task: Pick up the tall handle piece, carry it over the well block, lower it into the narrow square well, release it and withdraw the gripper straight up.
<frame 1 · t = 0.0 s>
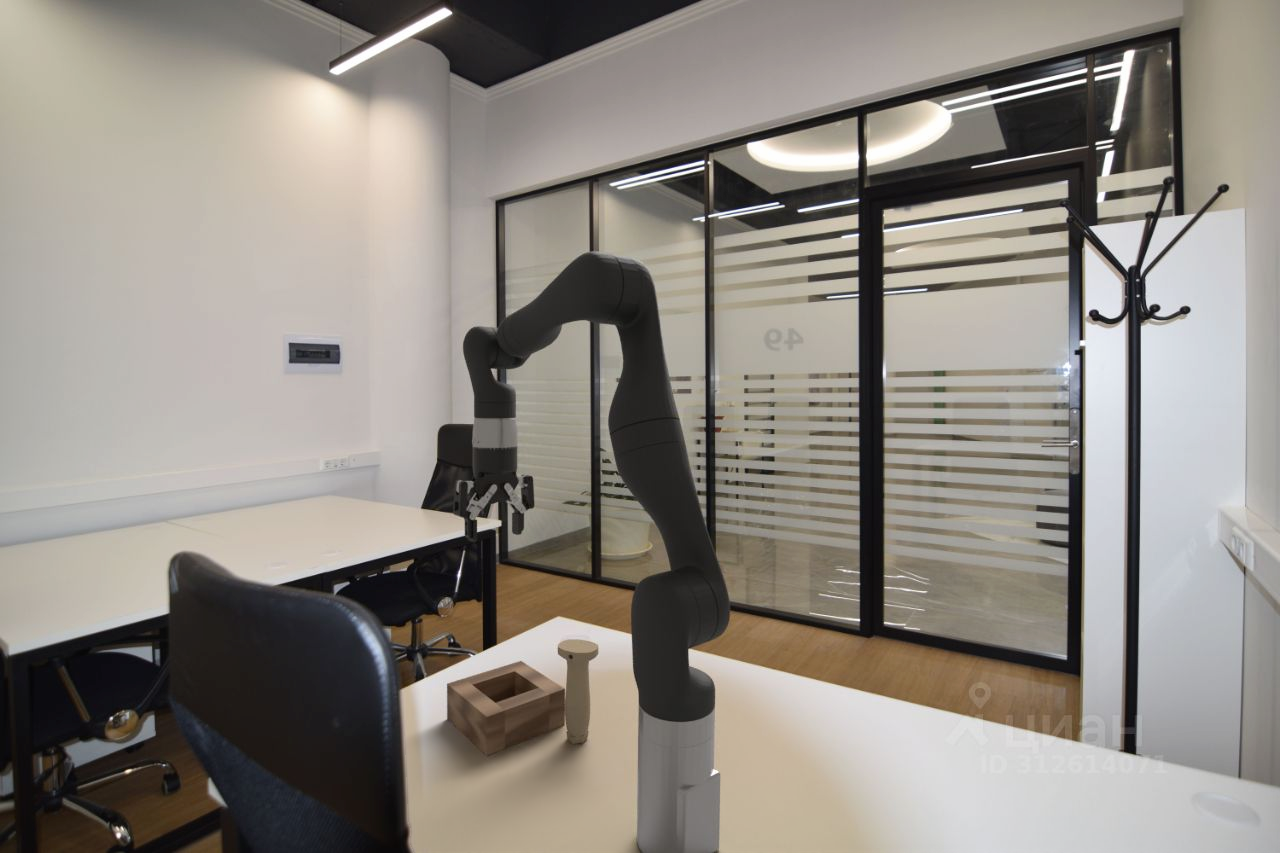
hand: (495, 537, 109), 29 cm above the table, fingers open, 8 cm apart
well block: (505, 721, 104), on the table
handle: (577, 740, 98), on the table
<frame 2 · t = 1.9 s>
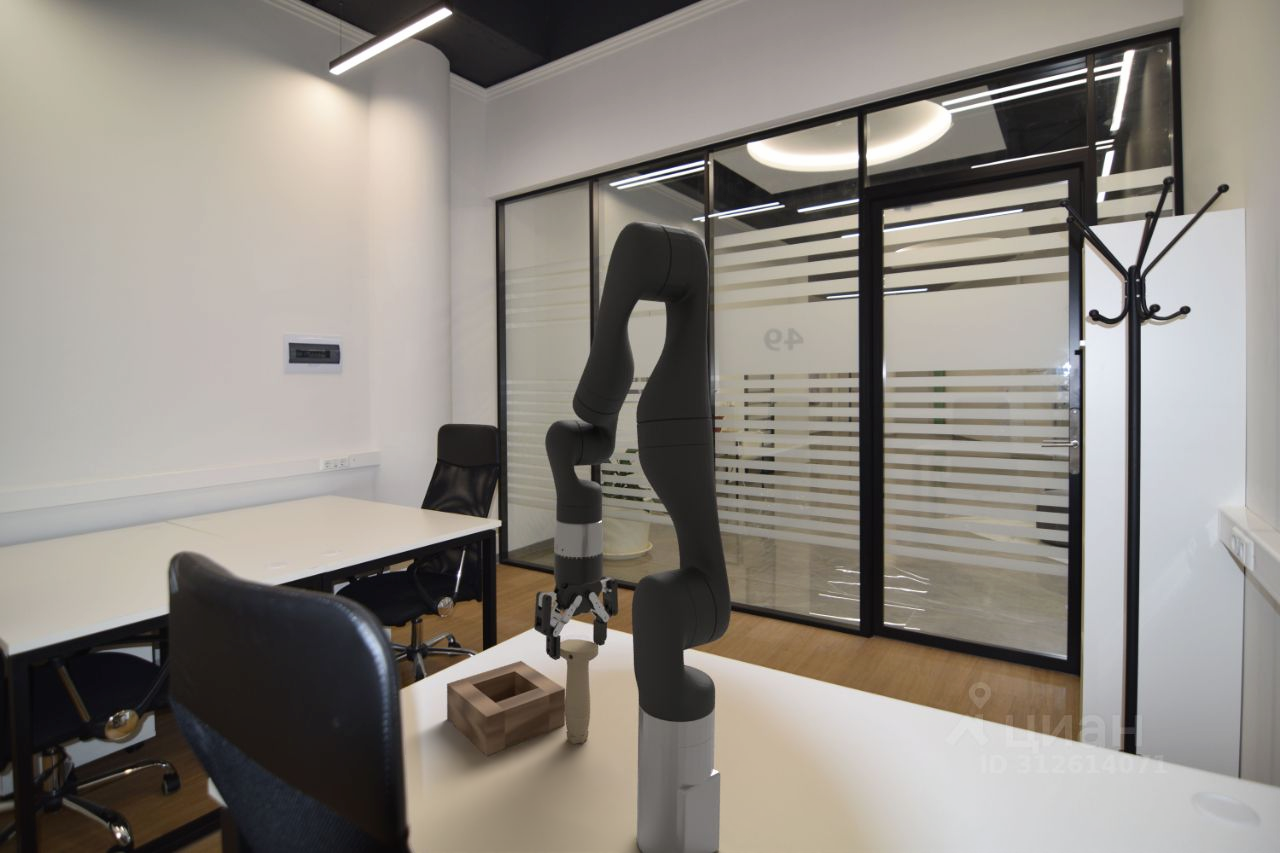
hand: (577, 650, 98), 14 cm above the table, fingers open, 8 cm apart
nothing on the table moved.
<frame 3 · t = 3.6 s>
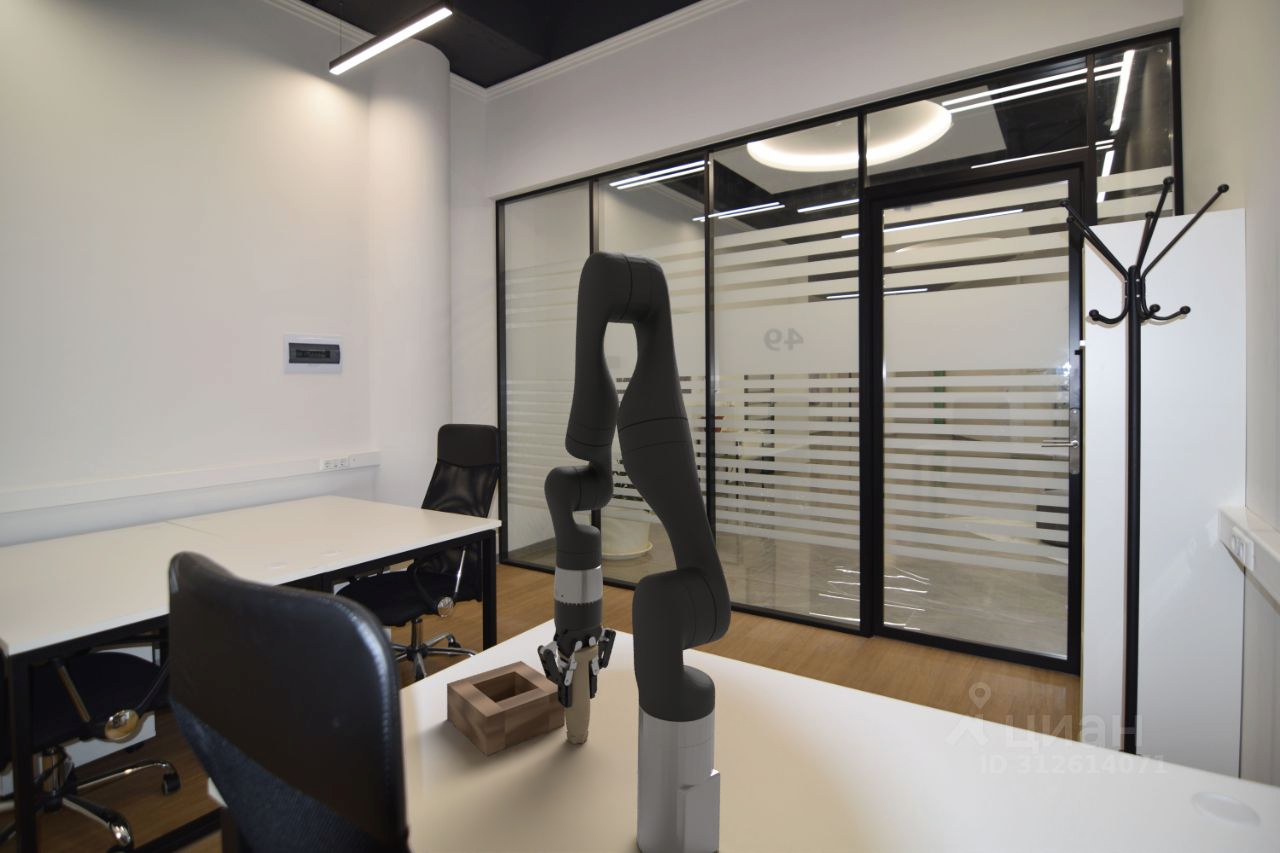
hand: (577, 700, 98), 6 cm above the table, fingers closed on handle, 4 cm apart
handle: (577, 740, 98), on the table, touching gripper
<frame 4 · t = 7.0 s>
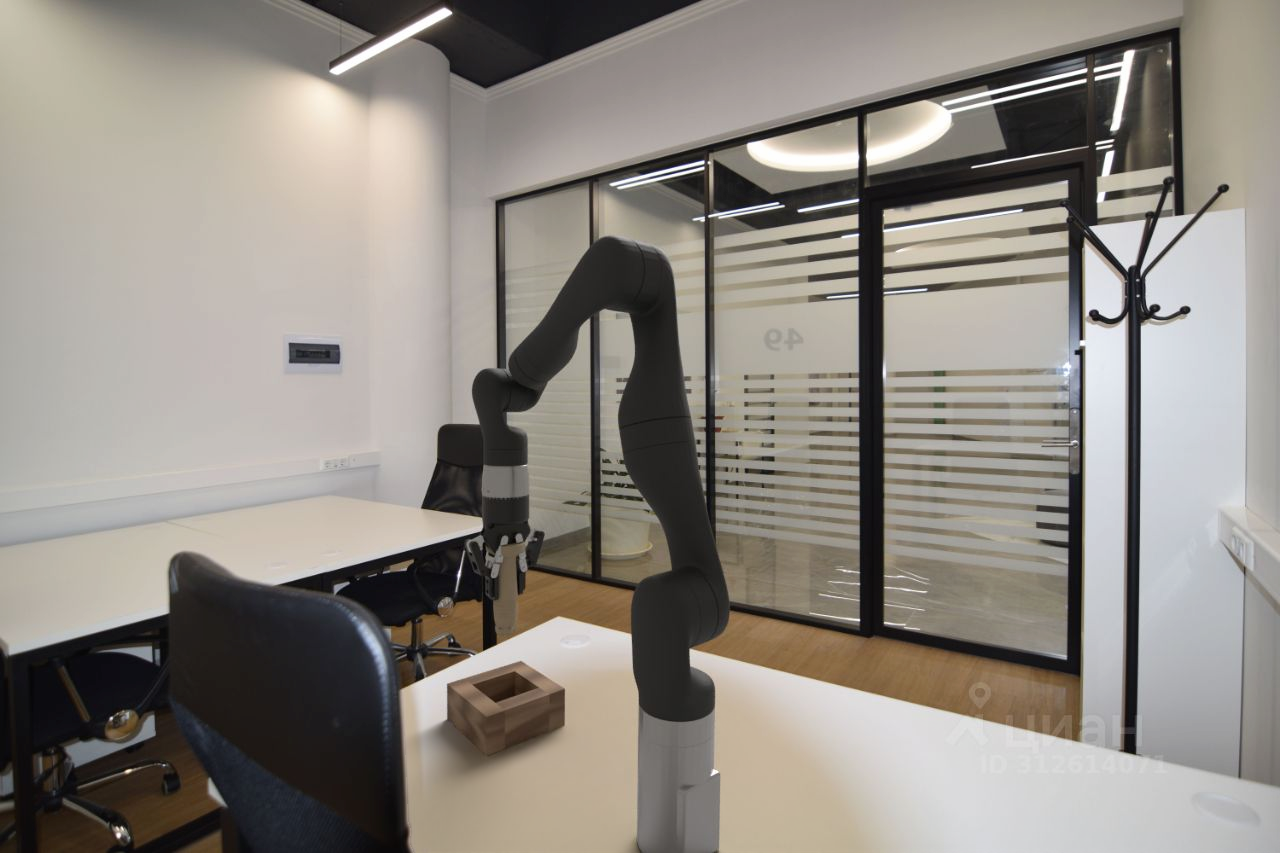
hand: (505, 595, 102), 21 cm above the table, fingers closed on handle, 4 cm apart
handle: (505, 634, 103), point 15 cm above the table, touching gripper
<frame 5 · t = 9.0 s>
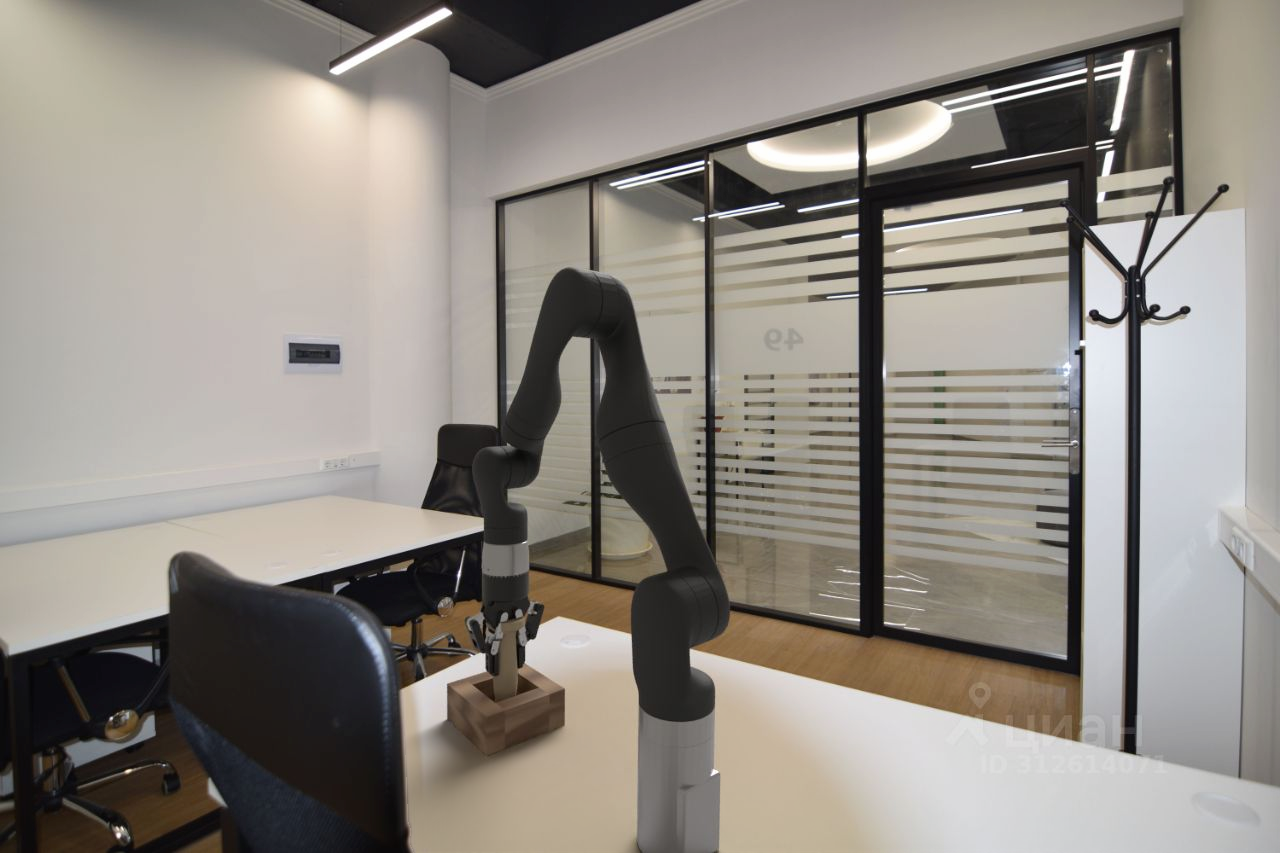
hand: (505, 670, 103), 9 cm above the table, fingers closed on handle, 4 cm apart
handle: (505, 708, 103), point 2 cm above the table, touching gripper
when the fingers open (8 cm above the table, at t = 10.3 s): handle drops 2 cm, resting in well block.
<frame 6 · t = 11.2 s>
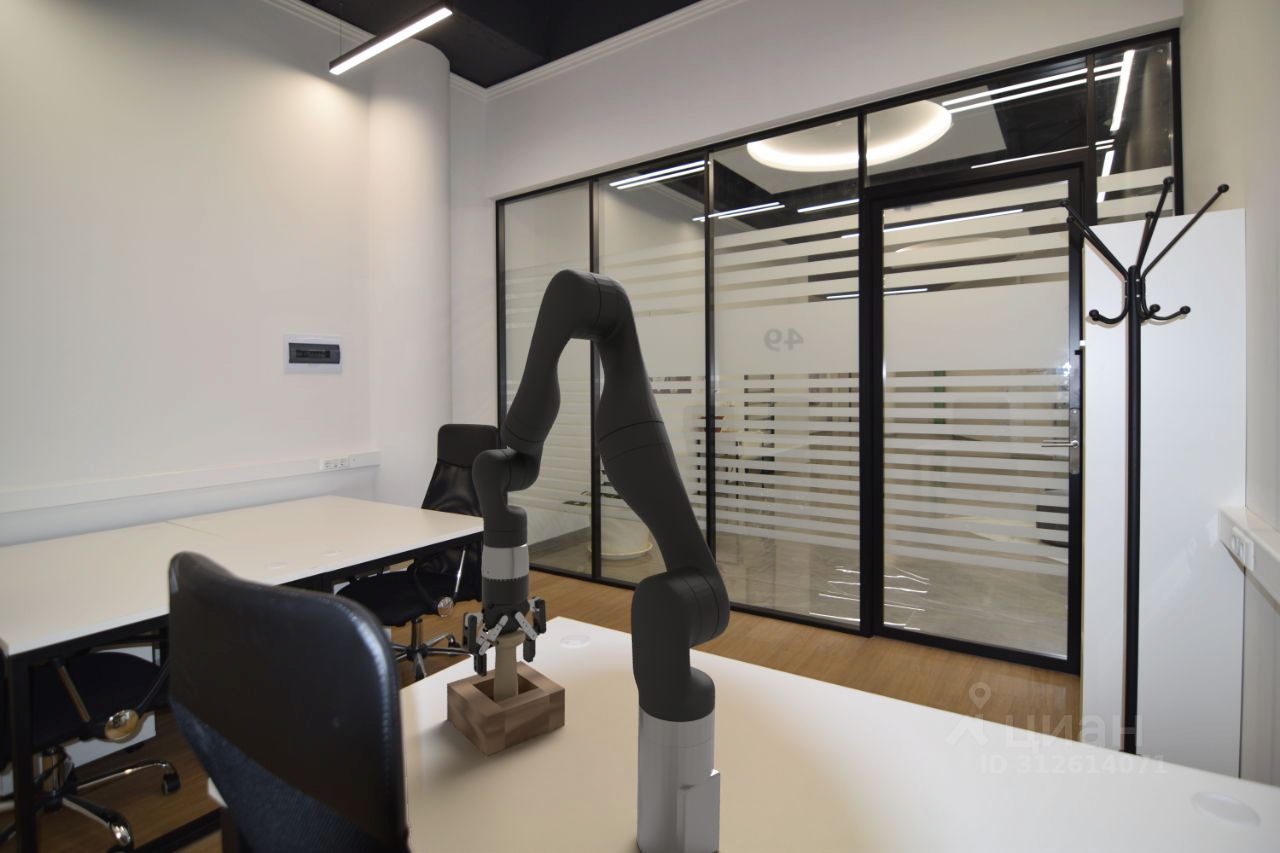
hand: (505, 667, 103), 9 cm above the table, fingers open, 8 cm apart
handle: (505, 722, 104), resting in well block
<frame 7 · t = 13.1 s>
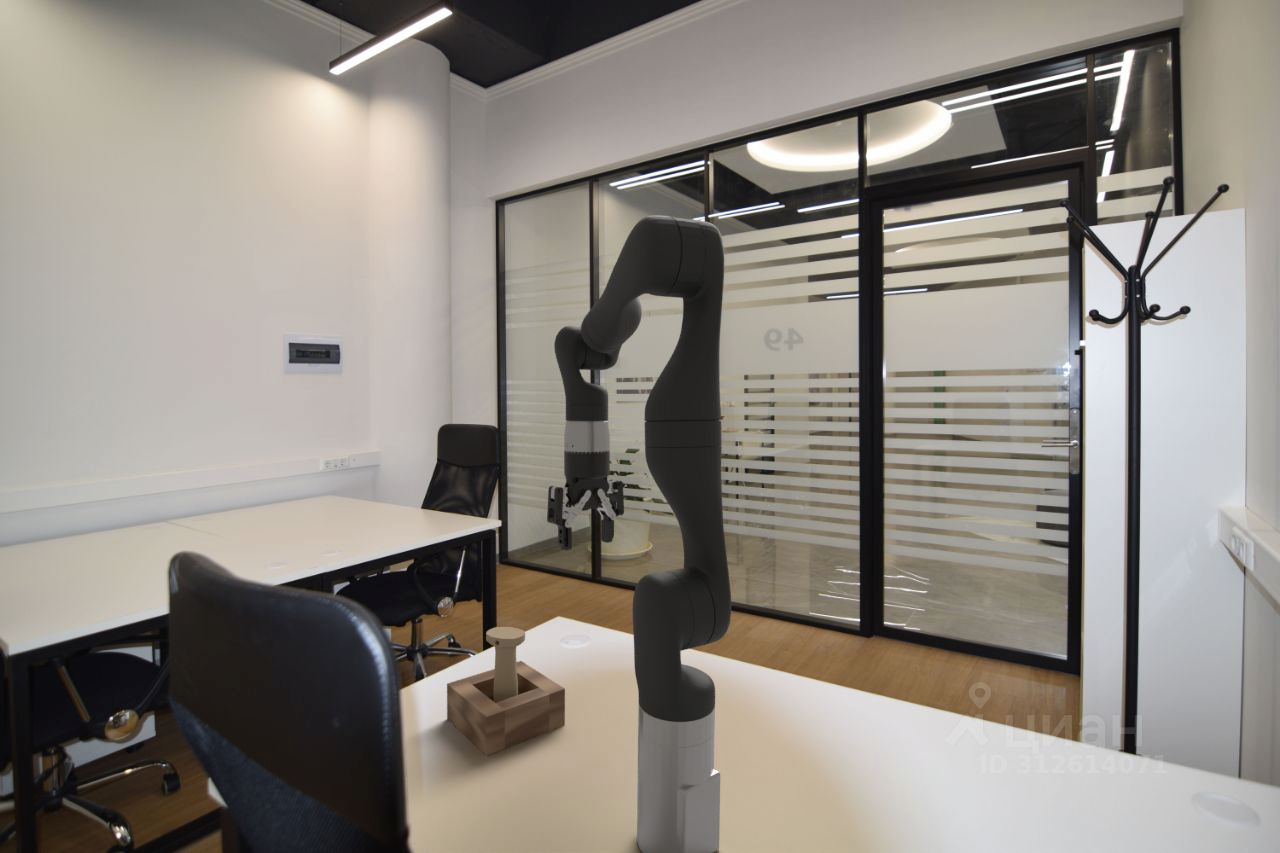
hand: (587, 545, 104), 29 cm above the table, fingers open, 8 cm apart
nothing on the table moved.
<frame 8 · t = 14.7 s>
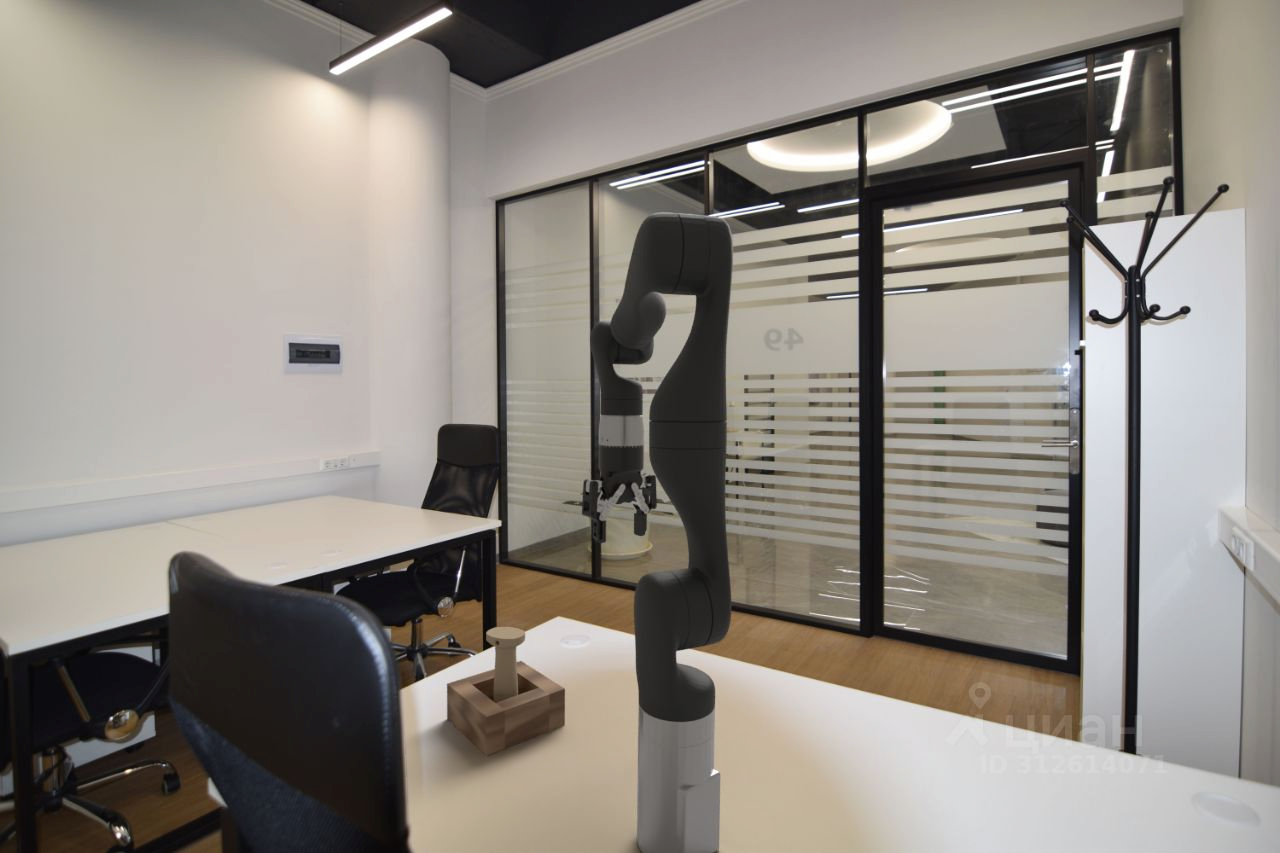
hand: (620, 538, 105), 30 cm above the table, fingers open, 8 cm apart
nothing on the table moved.
at the end: handle 0.1 cm off-centre on the well block, point 0.0 cm above the well block's base; the gripper is holding nothing; handle tilted 0° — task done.
